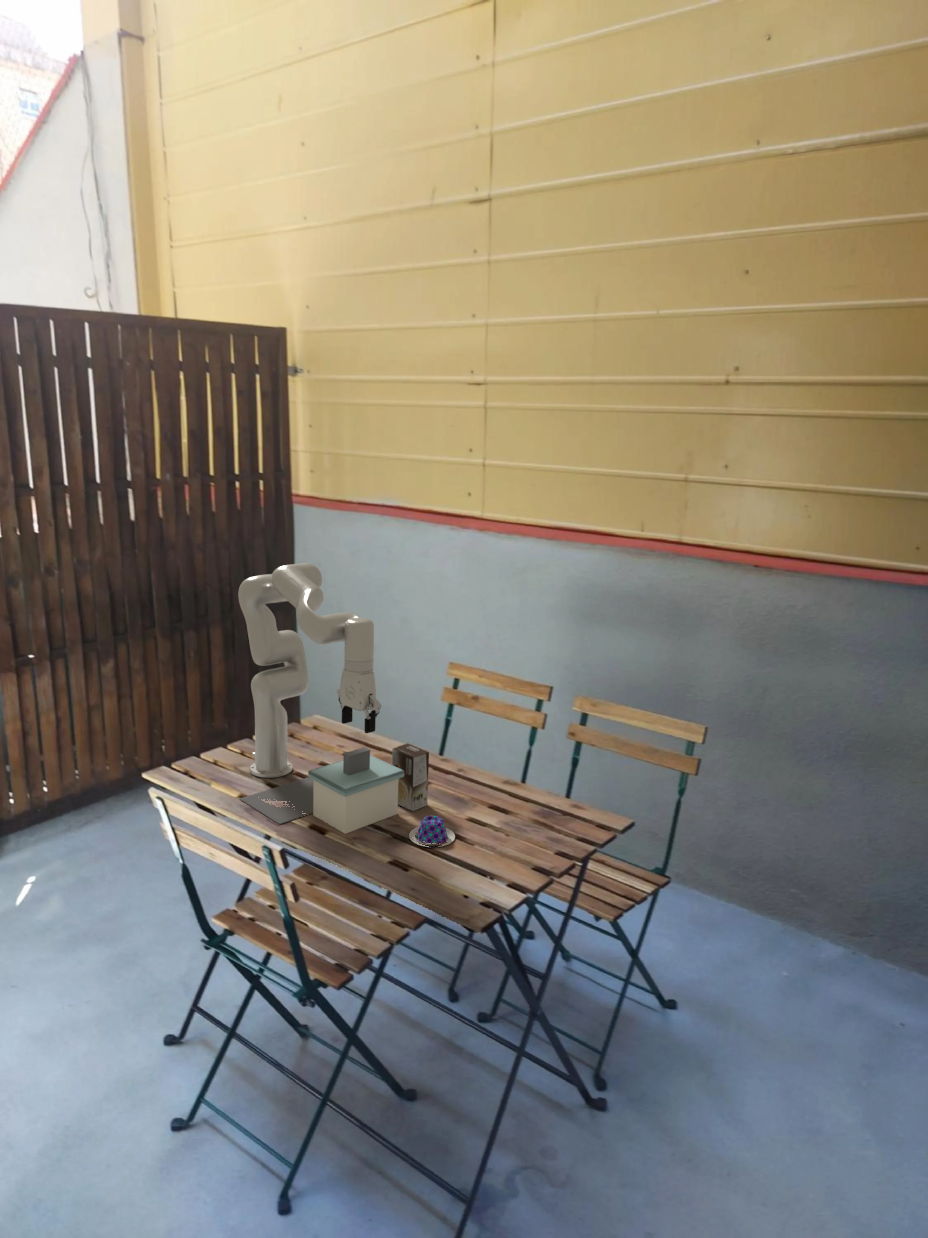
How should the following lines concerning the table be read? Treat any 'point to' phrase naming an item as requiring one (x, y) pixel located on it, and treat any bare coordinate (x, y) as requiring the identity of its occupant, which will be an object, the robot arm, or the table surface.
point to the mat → (293, 792)
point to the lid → (355, 773)
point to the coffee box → (412, 775)
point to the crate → (355, 806)
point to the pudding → (432, 831)
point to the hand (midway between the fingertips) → (358, 727)
